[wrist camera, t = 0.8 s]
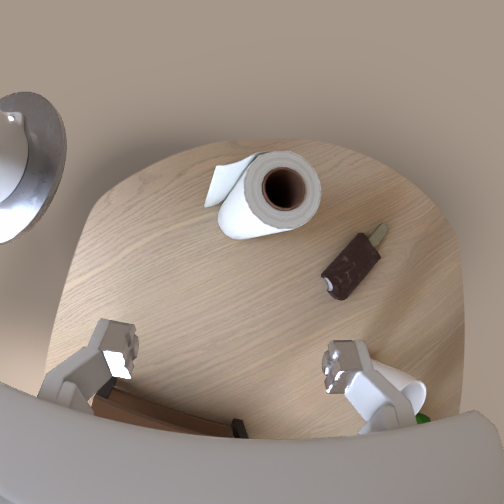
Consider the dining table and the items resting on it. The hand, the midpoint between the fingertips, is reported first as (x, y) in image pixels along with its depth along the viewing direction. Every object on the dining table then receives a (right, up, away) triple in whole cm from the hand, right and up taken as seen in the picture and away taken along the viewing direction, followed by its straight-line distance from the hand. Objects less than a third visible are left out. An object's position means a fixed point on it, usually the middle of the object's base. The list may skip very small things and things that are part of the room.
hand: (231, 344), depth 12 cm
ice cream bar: (+17, +3, +34) cm, 39 cm away
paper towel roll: (-1, +9, +31) cm, 32 cm away
